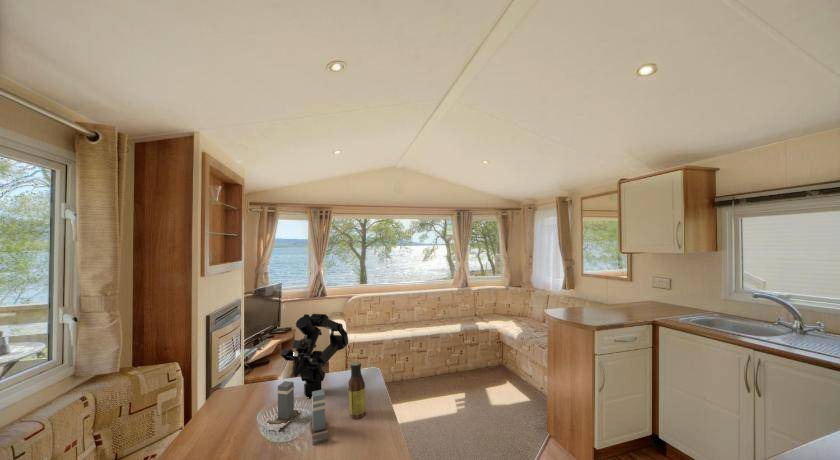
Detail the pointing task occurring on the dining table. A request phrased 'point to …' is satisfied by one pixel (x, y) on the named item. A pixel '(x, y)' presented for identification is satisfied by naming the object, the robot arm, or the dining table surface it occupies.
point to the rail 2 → (319, 435)
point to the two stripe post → (318, 410)
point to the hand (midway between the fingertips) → (294, 376)
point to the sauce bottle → (357, 392)
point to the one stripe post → (285, 400)
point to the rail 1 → (279, 421)
